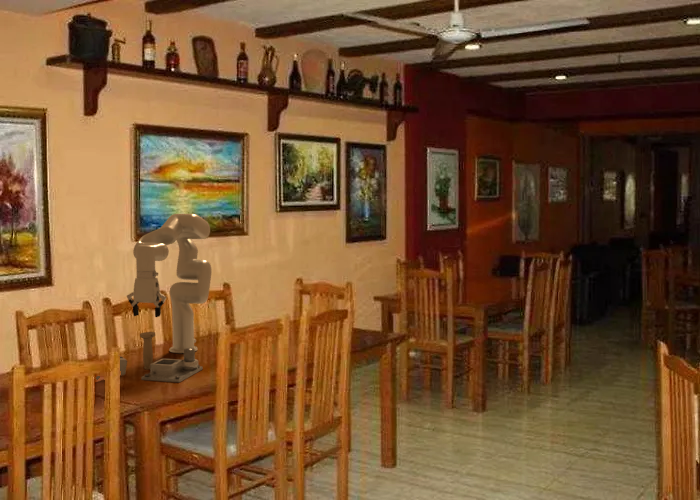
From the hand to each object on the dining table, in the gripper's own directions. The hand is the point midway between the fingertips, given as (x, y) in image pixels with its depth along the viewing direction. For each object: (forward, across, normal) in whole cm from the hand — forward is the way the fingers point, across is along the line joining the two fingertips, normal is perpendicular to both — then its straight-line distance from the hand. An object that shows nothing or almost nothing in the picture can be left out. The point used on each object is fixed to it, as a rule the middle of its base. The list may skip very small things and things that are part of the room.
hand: (146, 316), depth 324 cm
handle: (+22, 0, 0) cm, 22 cm away
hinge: (+22, +8, +18) cm, 30 cm away
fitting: (+22, -14, +6) cm, 27 cm away
